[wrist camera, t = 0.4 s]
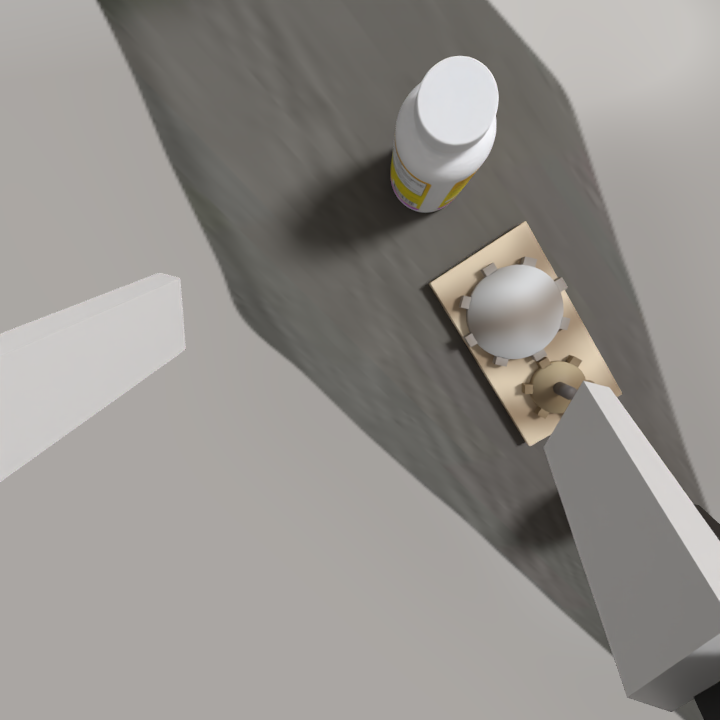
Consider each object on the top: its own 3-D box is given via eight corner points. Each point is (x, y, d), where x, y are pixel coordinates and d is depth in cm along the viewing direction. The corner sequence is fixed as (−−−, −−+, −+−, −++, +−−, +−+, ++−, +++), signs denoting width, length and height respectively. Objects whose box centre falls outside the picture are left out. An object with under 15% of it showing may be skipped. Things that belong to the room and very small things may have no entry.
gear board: (428, 283, 35) (435, 281, 31) (521, 223, 34) (540, 213, 30) (525, 442, 37) (542, 458, 33) (615, 391, 36) (643, 401, 32)
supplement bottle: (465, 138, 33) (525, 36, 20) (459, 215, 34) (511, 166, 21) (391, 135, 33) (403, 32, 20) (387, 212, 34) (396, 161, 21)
